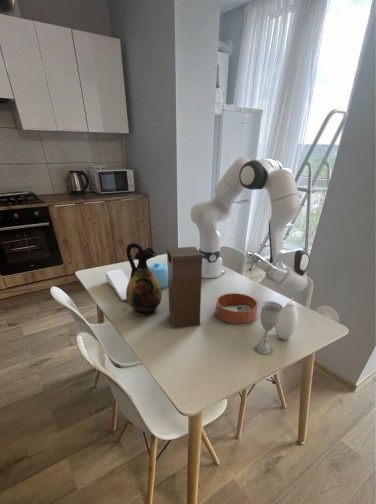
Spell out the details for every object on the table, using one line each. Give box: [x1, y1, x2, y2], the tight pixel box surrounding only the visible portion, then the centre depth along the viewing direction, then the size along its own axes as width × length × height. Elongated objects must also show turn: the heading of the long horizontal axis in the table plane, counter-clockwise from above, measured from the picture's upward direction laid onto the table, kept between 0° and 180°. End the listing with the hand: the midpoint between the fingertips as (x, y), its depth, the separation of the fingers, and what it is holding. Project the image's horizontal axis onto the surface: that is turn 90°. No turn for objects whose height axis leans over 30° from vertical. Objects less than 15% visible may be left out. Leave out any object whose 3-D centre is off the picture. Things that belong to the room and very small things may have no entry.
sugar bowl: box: [148, 262, 168, 290], centre depth 150 cm, size 15×15×12 cm
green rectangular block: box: [223, 305, 252, 311], centre depth 126 cm, size 4×13×3 cm, turn 104°
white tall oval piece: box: [274, 296, 299, 340], centre depth 107 cm, size 8×8×18 cm
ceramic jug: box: [125, 241, 163, 317], centre depth 121 cm, size 17×15×30 cm
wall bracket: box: [105, 268, 130, 301], centre depth 147 cm, size 10×7×28 cm
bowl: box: [215, 292, 259, 324], centre depth 126 cm, size 18×18×6 cm
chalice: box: [256, 300, 284, 355], centre depth 101 cm, size 7×7×18 cm
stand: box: [166, 246, 203, 329], centre depth 114 cm, size 10×11×30 cm
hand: (252, 258), depth 115 cm, fingers open, 8 cm apart
